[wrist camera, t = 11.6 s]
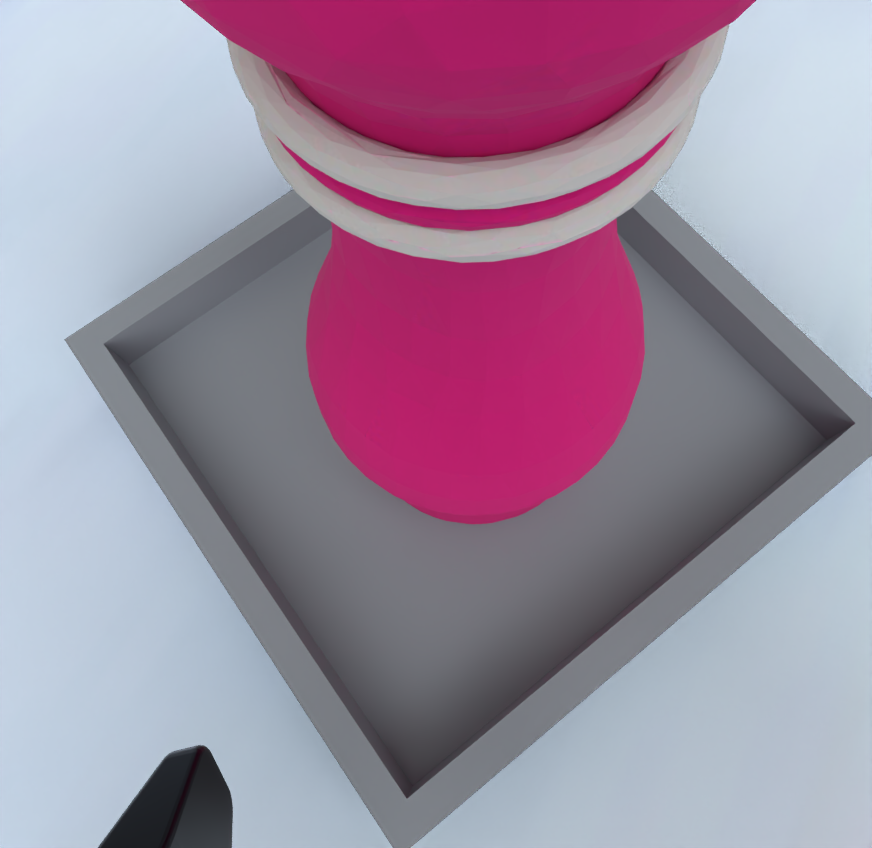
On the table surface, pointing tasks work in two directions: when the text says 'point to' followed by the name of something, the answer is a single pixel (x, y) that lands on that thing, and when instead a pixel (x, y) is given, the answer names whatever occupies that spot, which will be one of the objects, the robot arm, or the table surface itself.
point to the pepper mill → (474, 220)
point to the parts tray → (458, 542)
